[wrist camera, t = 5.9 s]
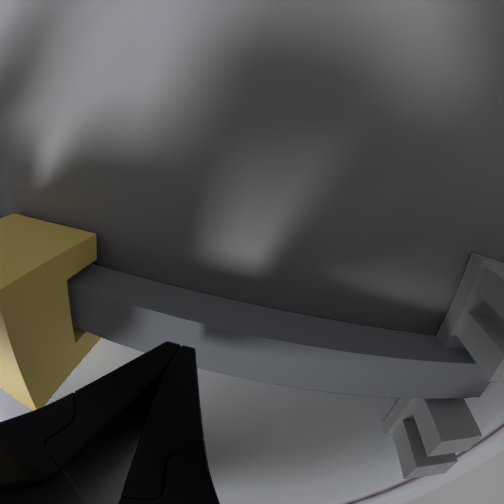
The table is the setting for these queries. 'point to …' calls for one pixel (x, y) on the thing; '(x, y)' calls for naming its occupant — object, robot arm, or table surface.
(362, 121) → the table surface
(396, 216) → the table surface
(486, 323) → the grey boxy piece
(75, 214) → the table surface
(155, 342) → the grey long bar
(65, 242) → the pale yellow cube
